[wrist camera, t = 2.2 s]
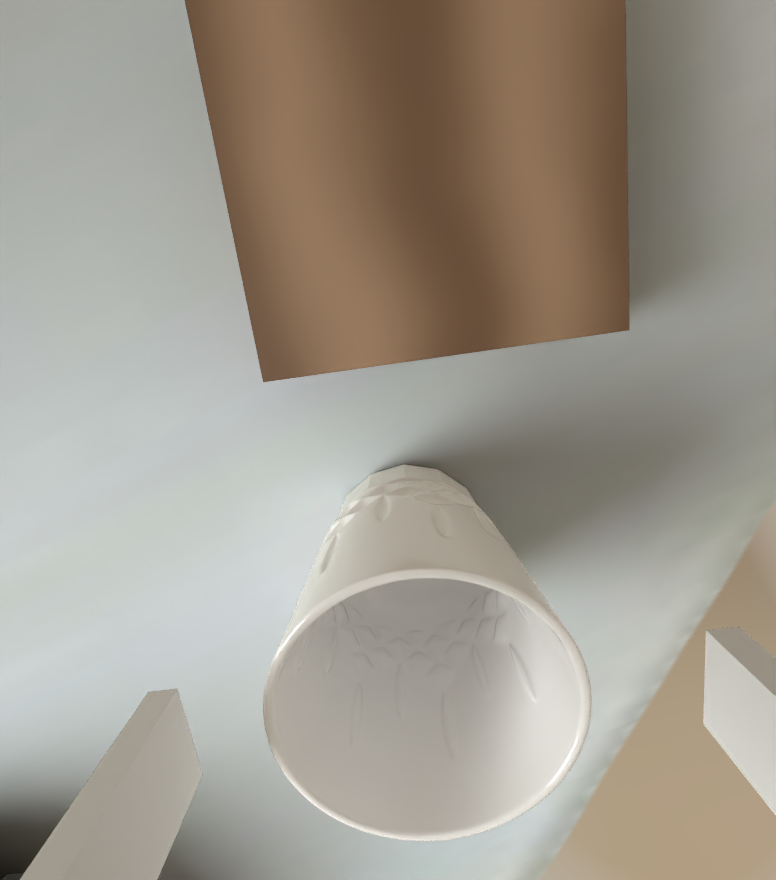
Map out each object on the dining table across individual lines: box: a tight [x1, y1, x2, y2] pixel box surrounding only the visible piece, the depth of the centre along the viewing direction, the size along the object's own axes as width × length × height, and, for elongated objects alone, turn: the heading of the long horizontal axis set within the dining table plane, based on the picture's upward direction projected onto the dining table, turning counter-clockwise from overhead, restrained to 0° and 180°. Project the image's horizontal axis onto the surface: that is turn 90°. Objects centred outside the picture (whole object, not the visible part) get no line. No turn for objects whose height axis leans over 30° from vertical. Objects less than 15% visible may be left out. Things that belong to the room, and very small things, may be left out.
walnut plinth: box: [185, 0, 629, 382], centre depth 15 cm, size 12×12×4 cm
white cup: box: [263, 464, 592, 841], centre depth 16 cm, size 8×8×10 cm
